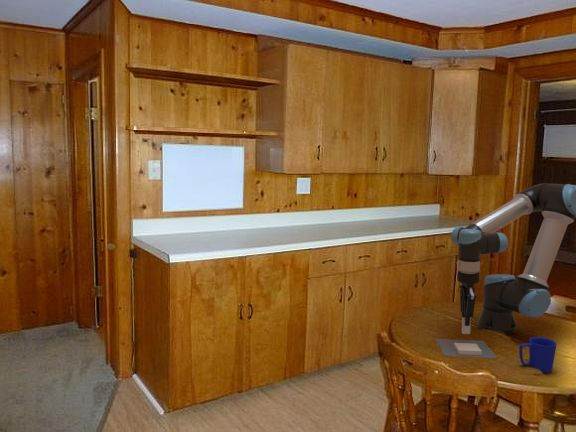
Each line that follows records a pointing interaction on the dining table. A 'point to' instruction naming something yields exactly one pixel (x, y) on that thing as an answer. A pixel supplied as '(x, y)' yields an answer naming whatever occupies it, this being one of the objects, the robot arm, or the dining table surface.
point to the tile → (467, 349)
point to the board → (448, 344)
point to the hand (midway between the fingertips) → (465, 333)
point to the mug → (540, 353)
